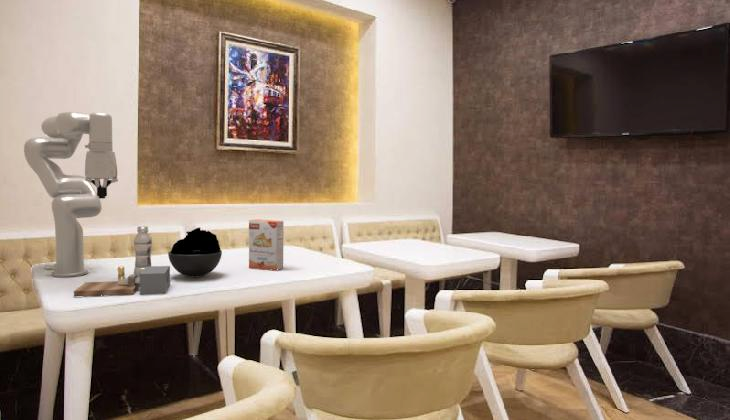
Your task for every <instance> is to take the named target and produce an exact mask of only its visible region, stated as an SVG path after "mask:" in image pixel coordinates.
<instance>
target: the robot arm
mask: <svg viewBox="0 0 730 420" xmlns="http://www.w3.org/2000/svg"><path fill="white" fill-rule="evenodd" d="M40 128H41V131H42V133H44V135H45V137H43V136H41V137H40V136H37V137H32V138H29V139H27V140H26V141H25V142H24V145H23V153H24V157H25V161H26V162H27V164H28V166H29V167H30V168H31V169H32V171H33V172H34V173H35V174H36V175H37V177H38V178H39V180H40V182H41V184H42V186H43V187H44V189H45V191H46V193H47V194H48V195H49V197H50V198H52V202H51V210H52V215H53V219H54V220H53V221H54V229H55V232H54V234H55V260H56V262H55V263H53V264H45V265H44V270H46V271H52V272H51V276H53V277H54V278H55V277H57V278H70V277H71V278H72V277H80V276H86V275H87V274H89V269H86V268H85V261H84V259H85V258H84V257H85V256H84V254H85V253H84V229H83V226H82V224H81V223H80V222H79V221H78V220H77V219H81V218H82V219H85V218H94V217H97V216H98V215H100V213H101V212H102V202H101V199H102V200H103V199H106V197H107V196H108V187H109V186H111V184H114V183H117V182H119V179H118V165H117V164H118V163H117V159H116V152H114V151H113V118H112V115H111V114H109V113H103V112H92V113H87V112H86V113H85V112H74V111H73V112H72V111H69V112H61V113H58V115H57V116H51V117H47V118H45V119H44V121H42V123H41V127H40ZM83 135H88V137H89V138H88V140H89V141H88V143H87V144H86V143H85V144H84V148H85V149H88V150H87V151H86V154H85V161H84V176H83V175H75V174H73V175H71V174H70V175H69V174H65V173H64V172H63V170H62V168H61V167H60V166H59V165H58V163H55V162H54V161H53V160H51V159H56V160H59V159H60V160H62V159H63V160H66V159H67V160H68V159H71V158H72V157H73V156H74V154H75V152H76V150H77V148H78V146H79V144H80V142H81V140H82V138H83ZM101 180H103V182H102V184H101ZM92 184H93V185H94V187H96V190H95V188H94V187H93V185H92Z"/></svg>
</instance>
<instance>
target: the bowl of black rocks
mask: <svg viewBox="0 0 730 420" xmlns="http://www.w3.org/2000/svg"><path fill="white" fill-rule="evenodd" d="M185 233H186V235H185V237H184V238H181V239H178V240H176V241H175V243H173V245H172V248H171V249H170V250H169V251H168V253H167V255H168V259H169V262H170V264H171V266H172V267H173V269H174V270H176V271H177V272H178V273H179V274H181V275H182V276H186V277H189V278H201V277H203V276H206V275H208V274H210V273H211V272H213V270H215V269H216V267H217V266H218V265H219V263H220V261H221V259H222V254H223V250H221V247H220V246H221V245H220V243H219V240H218V237H217V236H218V235H217V234H216V233H213V232H212V231H209V230H206V229H205V230H203V229H202V228H201V227H196V228H195V229H193V230H192V229H191V231H189V230H188V231H186V232H185Z"/></svg>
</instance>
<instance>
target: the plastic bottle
mask: <svg viewBox="0 0 730 420" xmlns="http://www.w3.org/2000/svg"><path fill="white" fill-rule="evenodd" d="M136 232H137V234H136V236H135V238H134V239H133V245H134V254H135V262H134V269H133V274H137V277H140V273H141V272H142V271H143V270H144V268H145V267H149V266H152V259H151V258H152V247H153V238H152V237H151V235H150V234H149V227H148V226H137V230H136Z"/></svg>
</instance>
